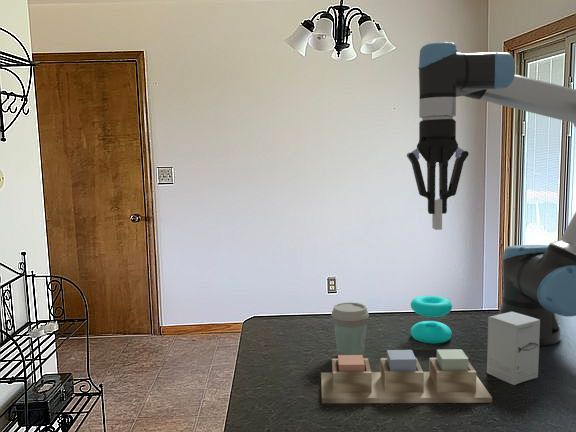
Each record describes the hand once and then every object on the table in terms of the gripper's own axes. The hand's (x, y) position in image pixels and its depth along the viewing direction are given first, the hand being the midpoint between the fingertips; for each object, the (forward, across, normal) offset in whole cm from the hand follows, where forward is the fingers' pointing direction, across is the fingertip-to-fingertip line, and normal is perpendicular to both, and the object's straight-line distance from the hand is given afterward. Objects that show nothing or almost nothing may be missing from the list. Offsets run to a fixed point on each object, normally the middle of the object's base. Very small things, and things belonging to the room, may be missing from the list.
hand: (437, 228), depth 119 cm
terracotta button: (+28, +20, +14) cm, 37 cm away
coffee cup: (+30, +19, -3) cm, 36 cm away
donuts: (+31, -2, -15) cm, 34 cm away
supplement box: (+31, -14, +8) cm, 35 cm away
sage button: (+27, 0, +14) cm, 30 cm away
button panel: (+30, +10, +14) cm, 35 cm away
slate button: (+27, +10, +14) cm, 32 cm away
